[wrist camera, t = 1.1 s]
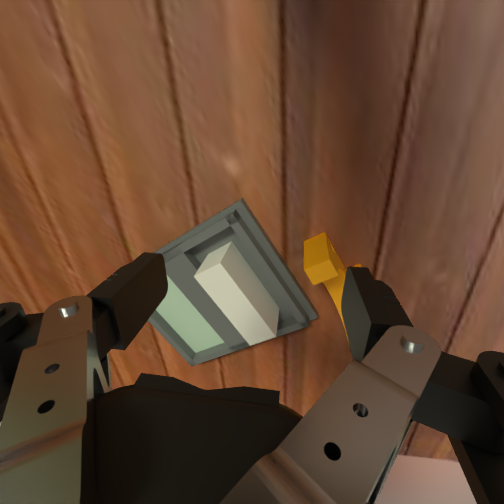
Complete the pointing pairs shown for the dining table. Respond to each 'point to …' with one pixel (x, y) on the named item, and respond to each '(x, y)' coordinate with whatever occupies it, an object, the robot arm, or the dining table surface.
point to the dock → (259, 261)
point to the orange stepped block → (325, 267)
